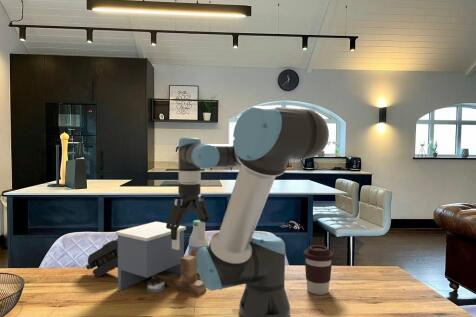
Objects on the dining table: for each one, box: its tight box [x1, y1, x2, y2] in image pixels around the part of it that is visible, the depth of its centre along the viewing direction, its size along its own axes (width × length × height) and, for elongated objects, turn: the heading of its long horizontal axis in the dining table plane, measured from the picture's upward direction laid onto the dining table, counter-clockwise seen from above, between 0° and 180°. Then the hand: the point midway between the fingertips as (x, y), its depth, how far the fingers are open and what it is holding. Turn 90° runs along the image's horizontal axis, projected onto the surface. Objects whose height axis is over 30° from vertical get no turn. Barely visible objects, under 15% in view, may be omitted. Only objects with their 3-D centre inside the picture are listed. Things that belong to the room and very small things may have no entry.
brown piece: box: [151, 254, 207, 296], centre depth 126 cm, size 22×4×11 cm, turn 58°
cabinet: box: [115, 221, 187, 291], centre depth 126 cm, size 15×19×20 cm
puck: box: [146, 278, 166, 294], centre depth 122 cm, size 6×6×3 cm
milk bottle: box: [188, 219, 209, 275], centre depth 140 cm, size 8×8×20 cm
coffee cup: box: [303, 244, 334, 296], centre depth 123 cm, size 10×10×15 cm
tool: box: [85, 238, 118, 278], centre depth 135 cm, size 6×19×15 cm, turn 78°
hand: (189, 244), depth 123 cm, fingers open, 13 cm apart
